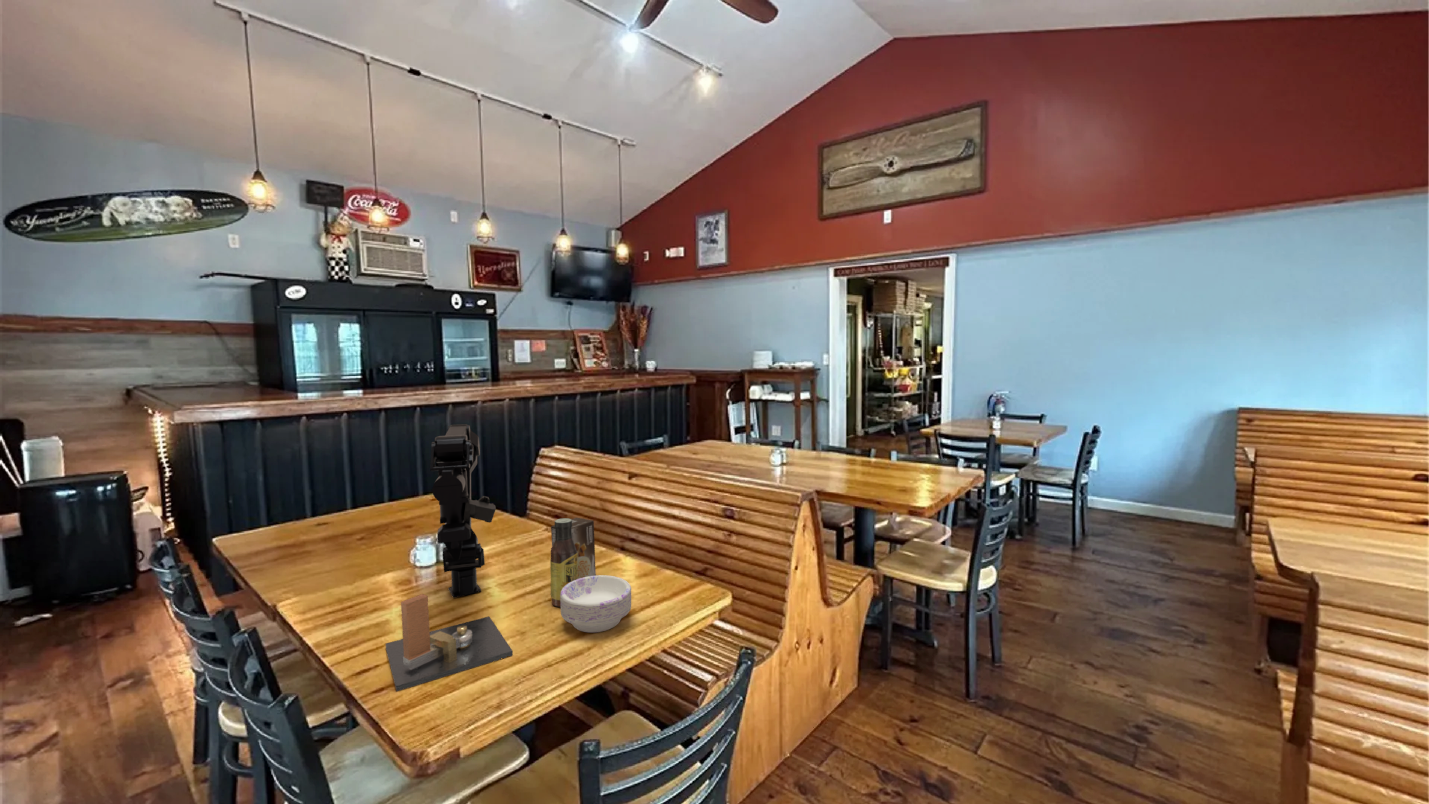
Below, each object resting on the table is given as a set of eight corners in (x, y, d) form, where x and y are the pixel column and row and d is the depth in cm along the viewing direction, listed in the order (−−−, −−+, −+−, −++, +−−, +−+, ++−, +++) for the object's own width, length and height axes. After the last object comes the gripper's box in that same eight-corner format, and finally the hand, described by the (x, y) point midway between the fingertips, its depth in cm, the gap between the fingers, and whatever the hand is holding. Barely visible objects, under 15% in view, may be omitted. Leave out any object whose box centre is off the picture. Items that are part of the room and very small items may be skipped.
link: (465, 636, 115) (462, 577, 114) (476, 641, 113) (473, 581, 112) (402, 665, 104) (398, 600, 103) (412, 671, 103) (408, 605, 101)
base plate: (385, 648, 114) (385, 643, 114) (489, 620, 125) (489, 616, 125) (396, 691, 99) (396, 686, 99) (512, 655, 111) (512, 650, 110)
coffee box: (578, 575, 151) (577, 516, 149) (596, 580, 147) (595, 520, 146) (552, 587, 143) (550, 525, 141) (570, 593, 139) (568, 529, 138)
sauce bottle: (571, 609, 130) (568, 525, 129) (546, 607, 132) (543, 524, 130) (583, 597, 137) (580, 517, 135) (559, 595, 138) (556, 516, 136)
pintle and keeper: (471, 645, 114) (470, 621, 114) (465, 665, 107) (464, 640, 107) (434, 650, 113) (432, 626, 112) (425, 671, 105) (424, 645, 105)
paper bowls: (618, 643, 115) (617, 605, 115) (548, 636, 118) (547, 600, 117) (640, 609, 130) (640, 576, 129) (578, 605, 133) (577, 572, 132)
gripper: (494, 498, 119) (497, 569, 121) (491, 480, 136) (493, 542, 138) (435, 503, 115) (439, 578, 116) (440, 484, 132) (443, 549, 133)
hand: (456, 560), depth 126 cm, fingers closed
